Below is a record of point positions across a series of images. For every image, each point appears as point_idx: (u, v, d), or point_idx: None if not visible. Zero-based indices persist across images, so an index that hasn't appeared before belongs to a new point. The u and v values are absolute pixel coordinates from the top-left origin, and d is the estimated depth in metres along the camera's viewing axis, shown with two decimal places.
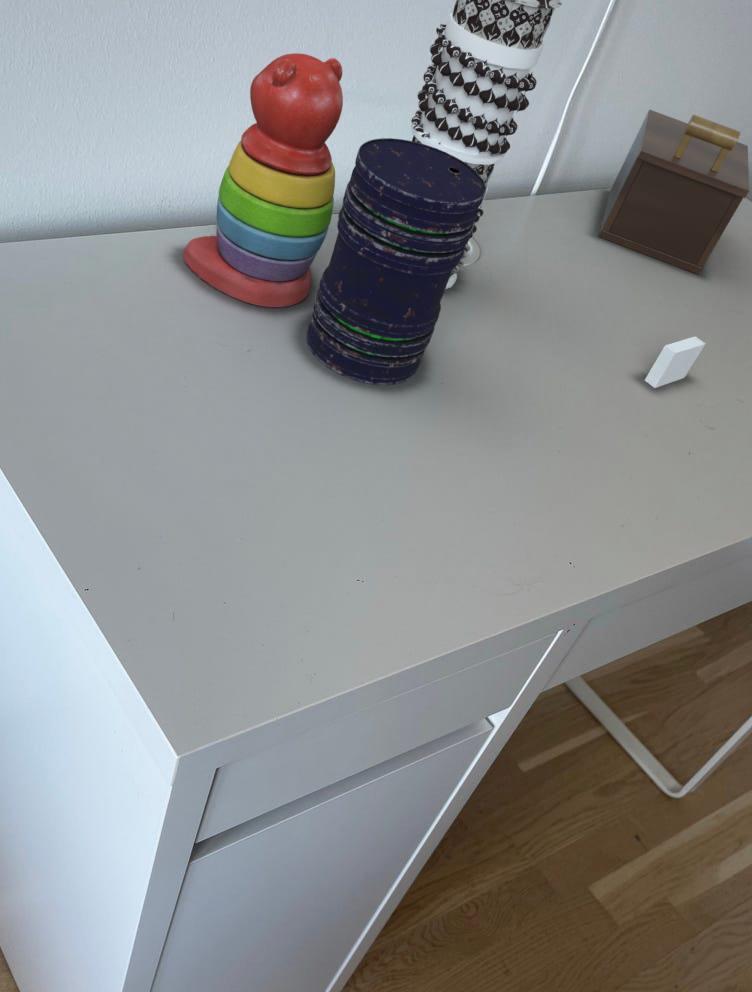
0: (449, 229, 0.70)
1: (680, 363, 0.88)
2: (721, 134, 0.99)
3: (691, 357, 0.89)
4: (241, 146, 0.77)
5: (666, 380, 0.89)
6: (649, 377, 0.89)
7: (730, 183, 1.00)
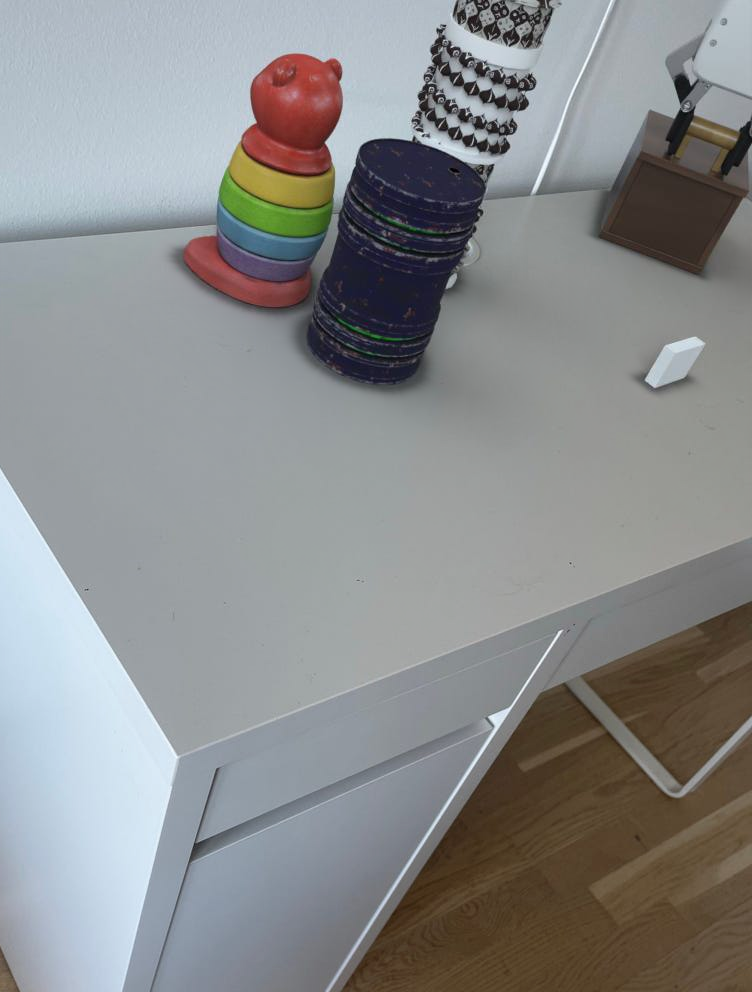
0: (449, 229, 0.70)
1: (680, 363, 0.88)
2: (721, 134, 0.99)
3: (691, 357, 0.89)
4: (241, 146, 0.77)
5: (666, 380, 0.89)
6: (649, 377, 0.89)
7: (730, 183, 1.00)
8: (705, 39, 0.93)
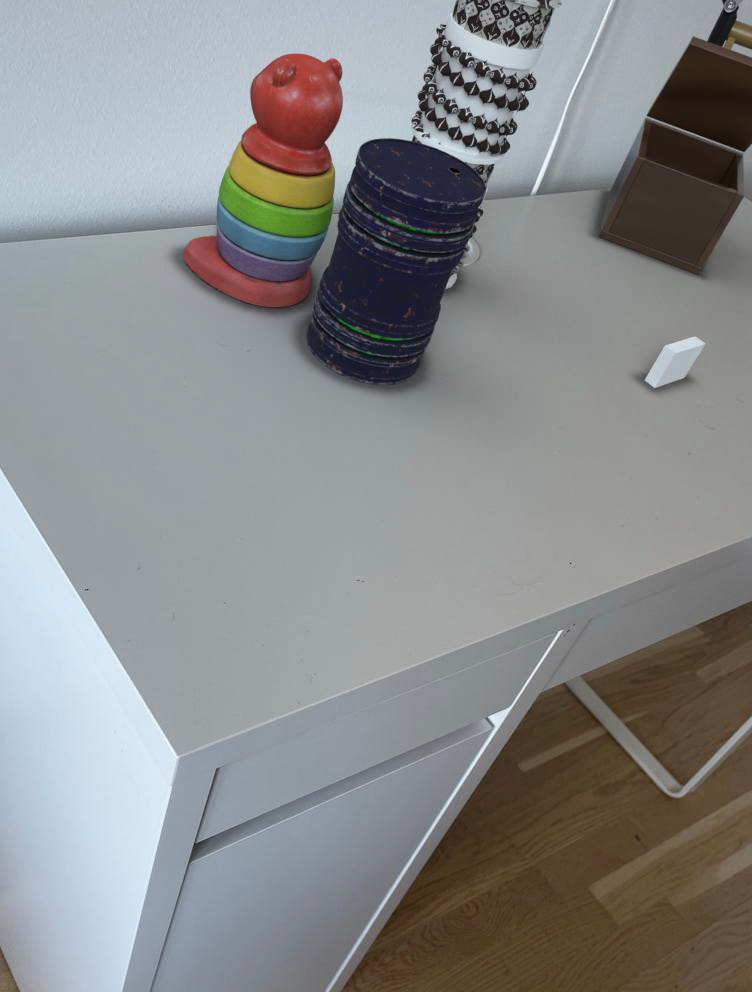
0: (449, 229, 0.70)
1: (680, 363, 0.88)
2: None
3: (691, 357, 0.89)
4: (241, 146, 0.77)
5: (666, 380, 0.89)
6: (649, 377, 0.89)
7: None
8: None
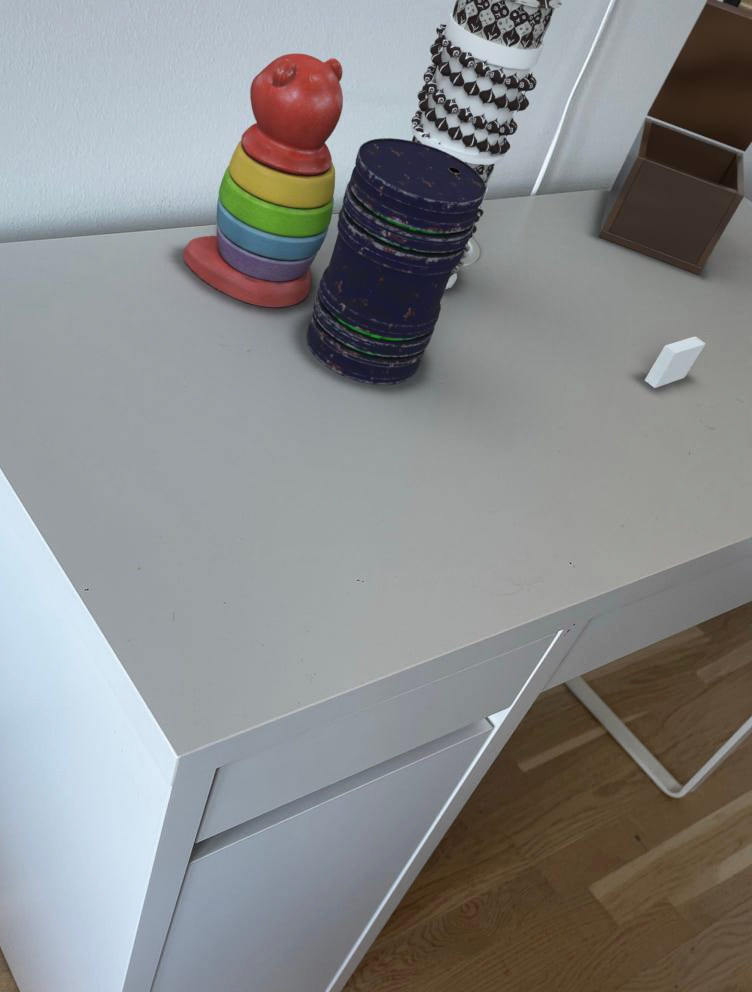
0: (449, 229, 0.70)
1: (680, 363, 0.88)
2: None
3: (691, 357, 0.89)
4: (241, 146, 0.77)
5: (666, 380, 0.89)
6: (649, 377, 0.89)
7: None
8: None
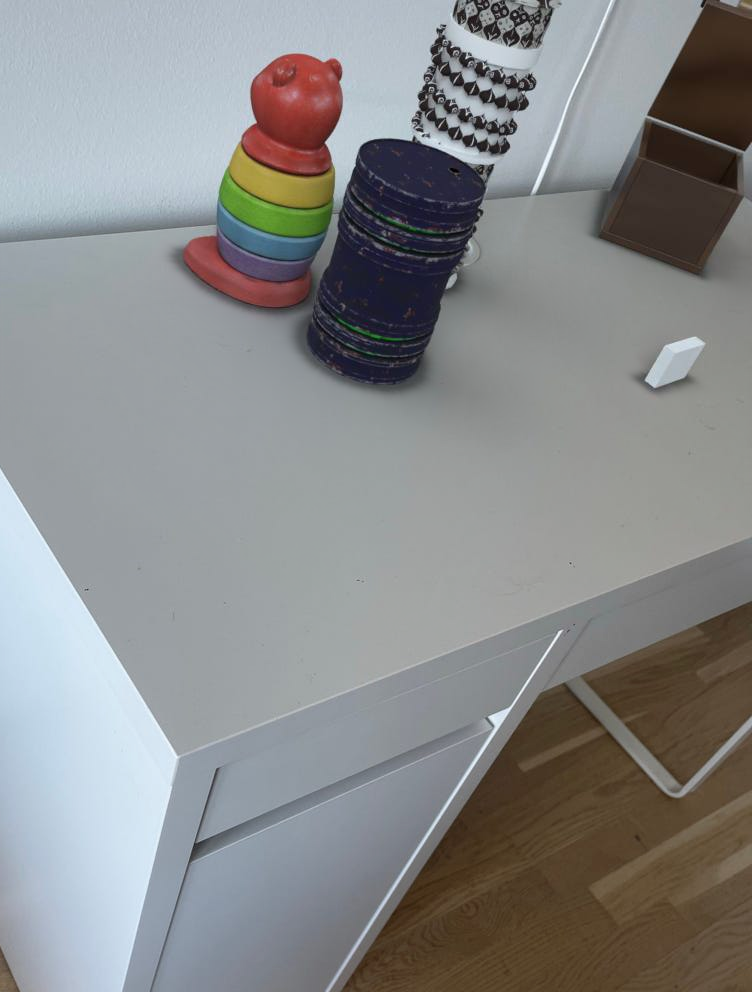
0: (449, 229, 0.70)
1: (680, 363, 0.88)
2: None
3: (691, 357, 0.89)
4: (241, 146, 0.77)
5: (666, 380, 0.89)
6: (649, 377, 0.89)
7: None
8: None
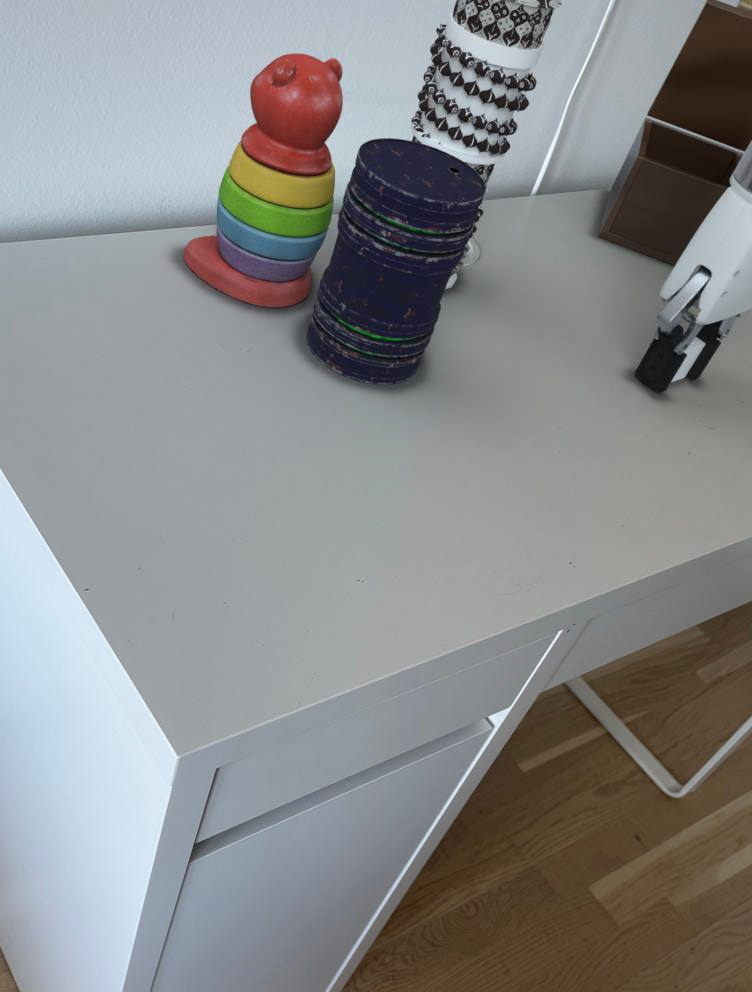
0: (449, 229, 0.70)
1: None
2: None
3: (691, 357, 0.89)
4: (241, 146, 0.77)
5: None
6: None
7: None
8: (714, 293, 0.79)
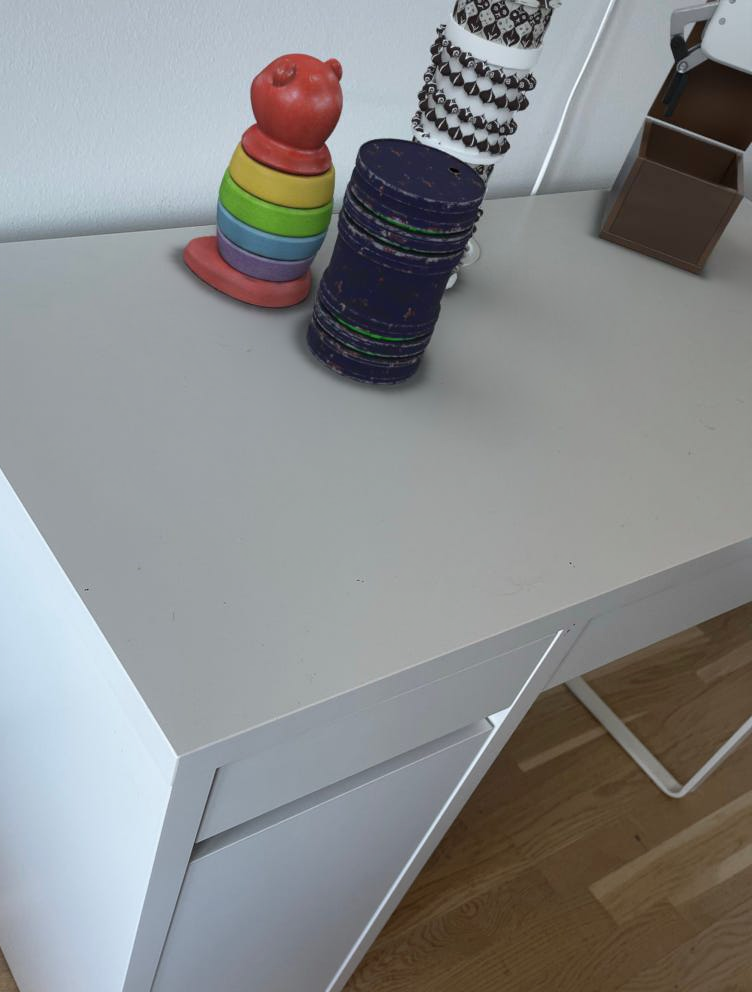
0: (449, 229, 0.70)
1: None
2: None
3: None
4: (241, 146, 0.77)
5: None
6: None
7: None
8: (714, 17, 0.94)
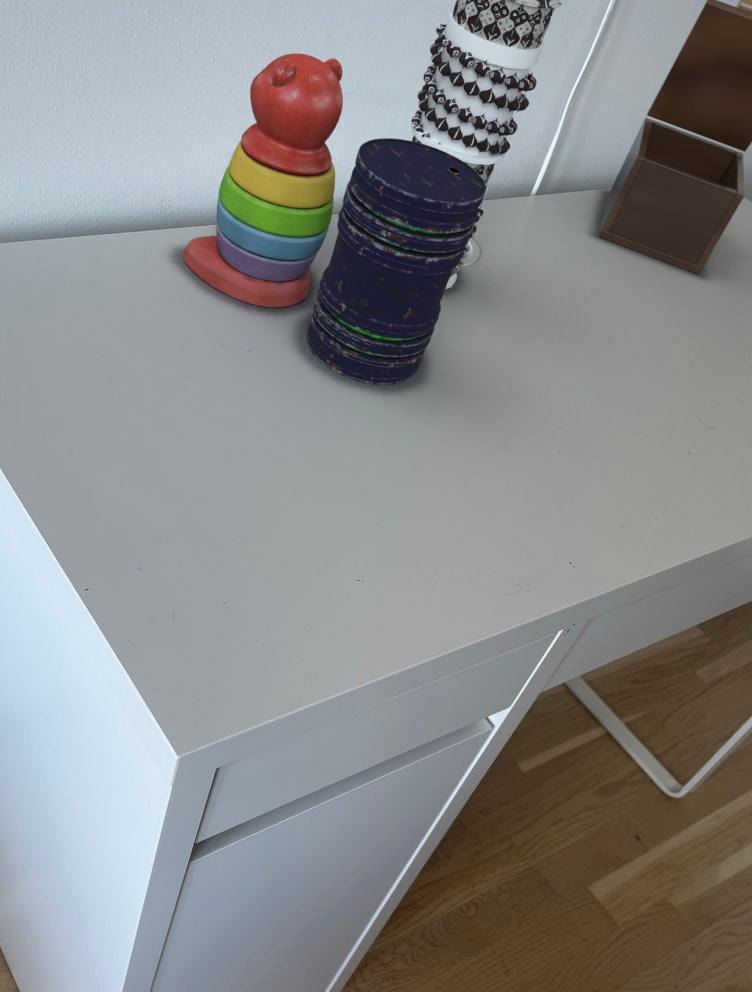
0: (449, 229, 0.70)
1: None
2: None
3: None
4: (241, 146, 0.77)
5: None
6: None
7: None
8: None
